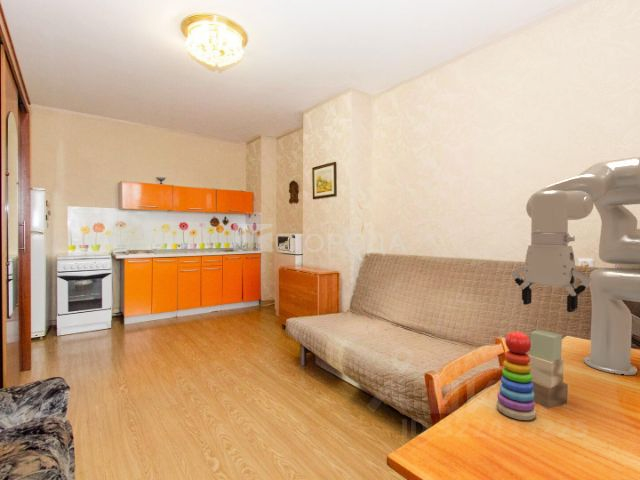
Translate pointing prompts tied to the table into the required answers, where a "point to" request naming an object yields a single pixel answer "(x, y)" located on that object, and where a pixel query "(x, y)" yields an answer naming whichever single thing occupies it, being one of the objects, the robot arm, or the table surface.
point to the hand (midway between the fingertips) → (548, 307)
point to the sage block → (546, 345)
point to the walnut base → (550, 394)
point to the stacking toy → (517, 380)
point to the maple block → (546, 371)
